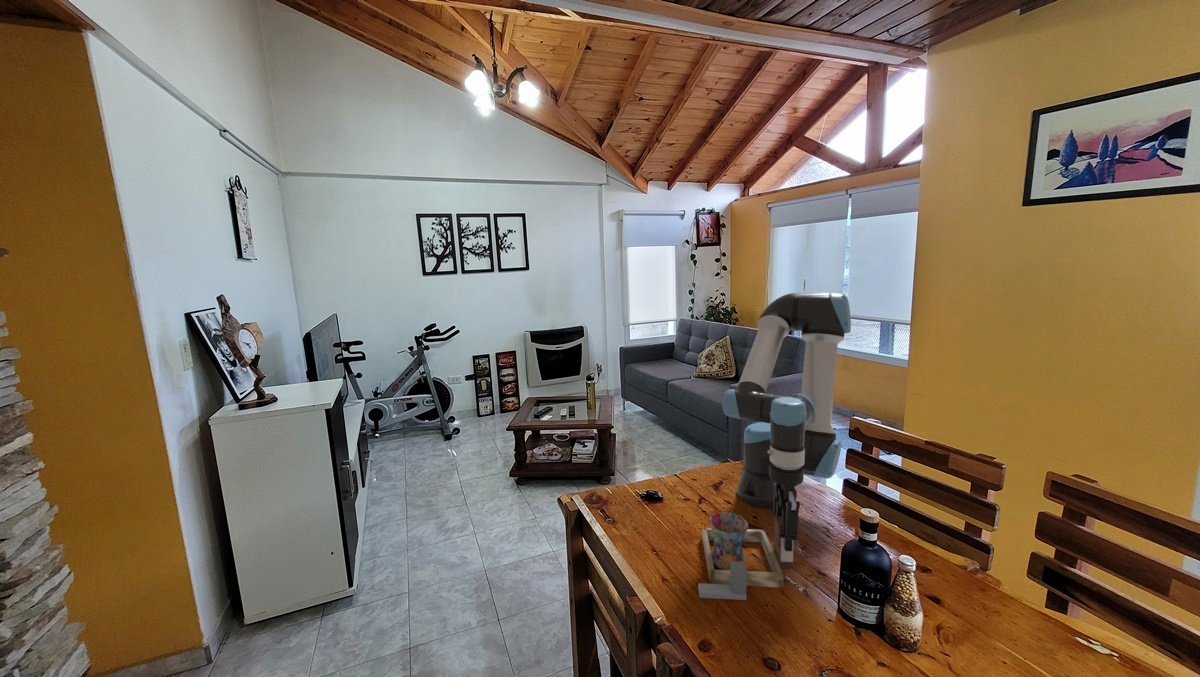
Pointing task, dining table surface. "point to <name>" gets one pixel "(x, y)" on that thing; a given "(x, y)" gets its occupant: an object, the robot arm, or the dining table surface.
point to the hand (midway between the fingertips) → (783, 554)
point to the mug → (727, 539)
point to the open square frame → (752, 576)
